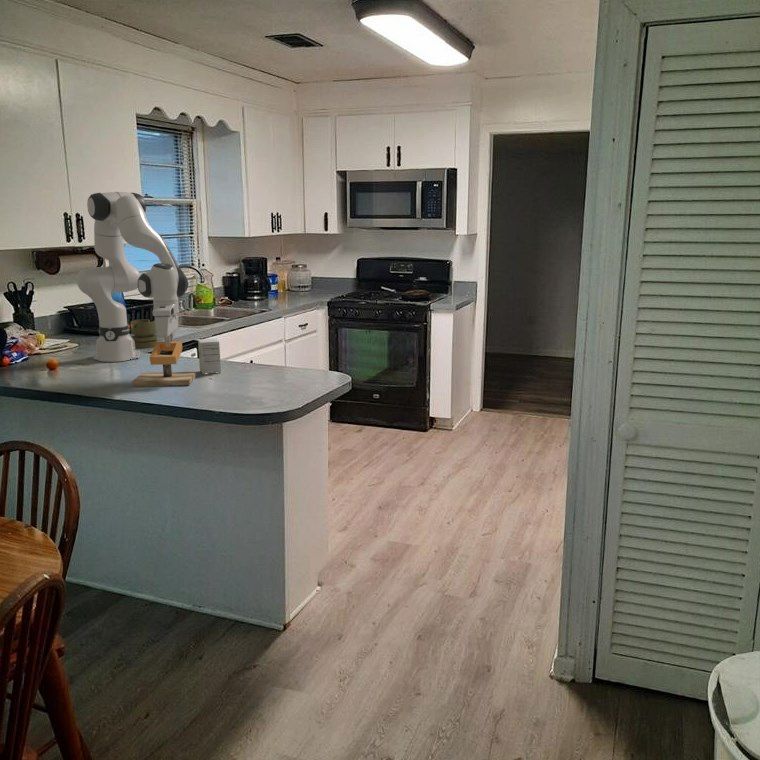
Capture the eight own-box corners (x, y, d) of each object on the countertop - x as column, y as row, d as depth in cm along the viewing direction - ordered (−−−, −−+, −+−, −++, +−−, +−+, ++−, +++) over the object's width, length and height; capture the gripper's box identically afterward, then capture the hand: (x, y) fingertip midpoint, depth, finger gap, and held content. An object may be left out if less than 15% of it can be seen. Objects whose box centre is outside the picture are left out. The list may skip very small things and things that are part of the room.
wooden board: (142, 378, 267) (141, 372, 267) (196, 376, 269) (196, 371, 268) (132, 386, 253) (132, 381, 253) (189, 385, 255) (189, 380, 254)
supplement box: (199, 371, 279) (197, 339, 276) (218, 369, 281) (216, 338, 278) (201, 374, 272) (199, 342, 269) (221, 373, 274) (219, 341, 272)
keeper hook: (164, 375, 262) (163, 360, 261) (172, 375, 262) (171, 359, 261) (161, 378, 258) (160, 362, 256) (170, 378, 258) (169, 362, 256)
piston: (138, 323, 321) (125, 321, 328) (141, 349, 324) (127, 346, 331) (160, 320, 329) (147, 318, 336) (162, 346, 332) (149, 343, 339)
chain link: (158, 349, 265) (156, 341, 264) (182, 348, 266) (181, 341, 264) (150, 364, 254) (149, 357, 252) (176, 364, 254) (175, 356, 253)
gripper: (163, 305, 271) (166, 341, 274) (151, 312, 251) (154, 350, 254) (180, 304, 271) (183, 340, 274) (169, 311, 251) (172, 350, 254)
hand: (169, 345), depth 264 cm, fingers closed on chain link, 2 cm apart
